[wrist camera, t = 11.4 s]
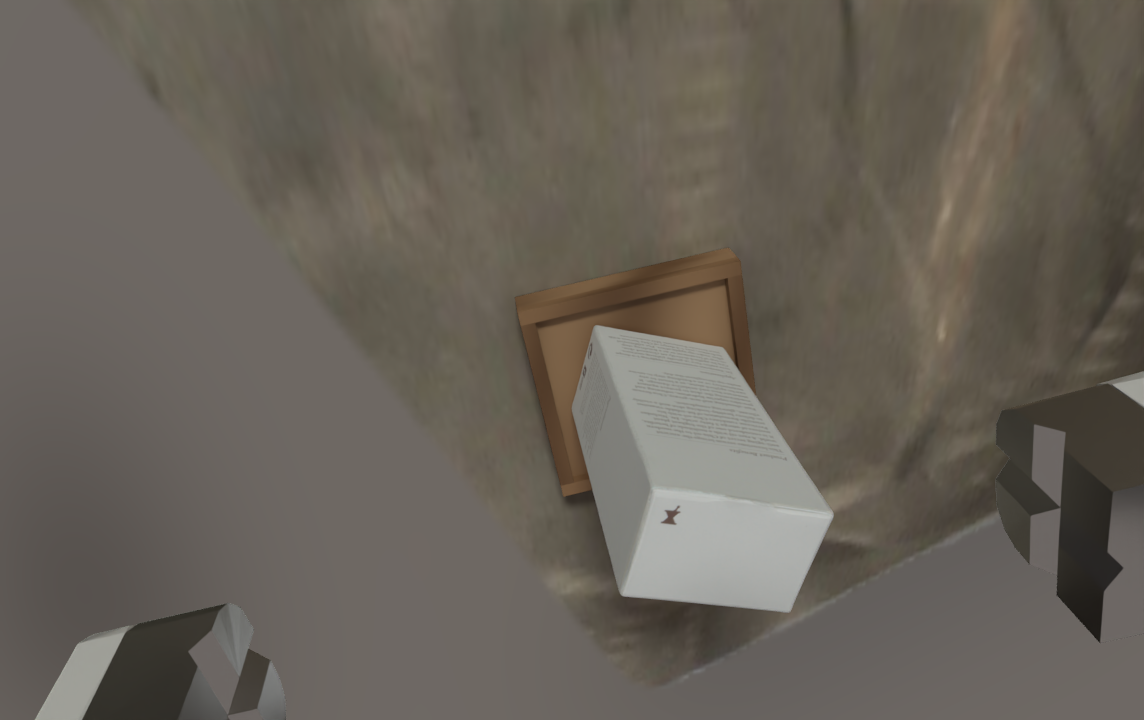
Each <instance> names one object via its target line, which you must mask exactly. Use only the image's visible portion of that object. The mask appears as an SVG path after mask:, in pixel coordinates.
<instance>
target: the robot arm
mask: <svg viewBox="0 0 1144 720" xmlns="http://www.w3.org/2000/svg"><path fill="white" fill-rule="evenodd" d="M996 445H997V446H998V447H999V448H1000V449H1001V450H1002V451H1003V452H1004V453H1005V454H1006V455H1007V456H1008V457H1009V458H1010V459H1009V460H1008V462H1007V463H1006V465H1005V466H1004V467H1003V469H1002V470H1001V472H1000V473H999V475H998V476H997V478H996V504H997V508H998V511H999V514H1000V517H1001V520H1002V524H1003V527H1004V530H1005V532H1006V533H1007V535H1008V536H1009V538H1010V540H1011V542H1012V543H1013V545H1014V547H1015V548H1016V549H1017V551H1018V552H1019V553H1020V554H1021V555H1022V556H1023V558H1024V559H1025V560H1026V561H1027V562H1028V563H1029V564H1030V565H1032V566H1034V567H1037V568H1039V569H1042V570H1044V571H1047V572H1049V573H1052V574H1054V575H1057V596H1058V597H1059V598H1060V599H1061V601H1062V602H1063V603H1064V604H1065V605H1066V606H1067V607H1068V608H1069V609H1070V610H1071V612H1072V613H1073V614H1074V615H1075V616H1076V617H1077V618H1078V619H1079V621H1080V622H1081V623H1082V624H1083V625H1084V626H1085V627H1086V628H1087V629H1088V630H1089V631H1090V633H1091V634H1092V635H1093V636H1094V637H1095V638H1096V639H1097V640H1098V642H1099V643H1104V642H1108V641H1113V640H1117V639H1122V638H1127V637H1131V636H1136V635H1140V634H1144V371H1143V372H1139V373H1135V374H1132V375H1128V376H1125V377H1121V378H1117V379H1114V380H1110V381H1107V382H1103V383H1100V384H1097V385H1096V386H1095V387H1091V388H1087V389H1083V390H1079V391H1075V392H1071V393H1068V394H1064V395H1060V396H1056V397H1052V398H1048V399H1044V400H1040V401H1036V402H1032V403H1028V404H1024V405H1020V406H1016V407H1013V408H1009V409H1005V410H1002V411H1001V413H1000V416H999V418H998V421H997V423H996ZM253 631H254V629H253V627H252V626H251V624H250V623H249V621H248V619H247V618H246V616H245V614H244V612H243V611H242V609H241V608H240V607H239V606H236V605H233V604H230V603H226V604H222V605H217V606H213V607H209V608H204V609H200V610H195V611H191V612H187V613H182V614H178V615H173V616H169V617H165V618H160V619H156V620H151V621H147V622H142V623H138V624H137V625H134V626H127V627H123V628H118V629H114V630H110V631H106V632H102V633H98V634H94V635H91V636H89V637H88V638H86V639H85V640H83V641H81V642H80V643H78V644H77V646H76V648H75V650H74V651H73V653H72V655H71V657H70V659H69V660H68V662H67V664H66V666H65V667H64V669H63V671H62V673H61V675H60V676H59V678H58V680H57V682H56V683H55V685H54V687H53V689H52V690H51V692H50V694H49V696H48V698H47V699H46V701H45V703H44V705H43V706H42V708H41V710H40V712H39V714H38V715H37V717H36V719H35V720H286V707H285V696H284V692H283V689H282V685H281V682H280V678H279V676H278V674H277V672H276V670H275V668H274V666H273V664H272V662H271V660H269V659H267V658H265V657H263V656H261V655H259V654H258V653H255V652H254V651H252V650H250V649H248V647H249V644H250V641H251V638H252V634H253Z"/></svg>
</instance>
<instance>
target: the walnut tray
mask: <svg viewBox="0 0 1144 720" xmlns="http://www.w3.org/2000/svg"><path fill="white" fill-rule="evenodd" d="M515 300H516V307H517V313H518V317H519V321H520V325H521V329H522V333H523V337H524V341H525V345H526V349H527V353H528V357H529V361H530V365H531V369H532V373H533V377H534V381H535V385H536V389H537V393H538V397H539V401H540V405H541V409H542V413H543V417H544V421H545V425H546V429H547V433H548V437H549V441H550V445H551V449H552V453H553V457H554V461H555V465H556V469H557V473H558V477H559V481H560V485H561V489H562V493H563V497H564V496H568V495H573V494H577V493H581V492H585V491H590V490H592V486H591V482H590V478H589V475H588V471H587V467H586V463H585V460H584V456H583V452H582V448H581V444H580V440H579V437H578V432H577V429H576V425H575V421H574V417H573V413H572V404H573V401H574V397H575V394H576V390H577V386H578V383H579V379H580V376H581V372H582V368H583V364H584V360H585V357H586V353H587V349H588V346H589V342H590V339H591V335H592V331H593V328H594V326H595V325H600V326H604V327H610V328H615V329H621V330H627V331H632V332H638V333H644V334H650V335H655V336H661V337H667V338H672V339H678V340H684V341H690V342H695V343H701V344H706V345H712V346H719V347H723V348H724V349H725V350H726V352H727V353H728V355H729V356H730V358H731V359H732V361H733V362H734V364H735V365H736V367H737V368H738V370H739V371H740V373H741V374H742V376H743V377H744V379H745V380H746V382H747V384H748V385H749V387H750V388H751V390H752V391H753V393H754V394H755V396H756V391H755V382H754V373H753V365H752V356H751V348H750V339H749V330H748V322H747V313H746V305H745V296H744V287H743V279H742V270H741V261H740V260H739V259H738V258H737V256H736V255H735V254H734V253H733V252H732V251H731V250H730V249H729V248H724V249H720V250H716V251H712V252H707V253H703V254H699V255H694V256H690V257H686V258H681V259H677V260H673V261H668V262H664V263H660V264H656V265H651V266H647V267H643V268H638V269H634V270H630V271H625V272H621V273H617V274H612V275H608V276H604V277H600V278H595V279H591V280H587V281H582V282H578V283H574V284H569V285H565V286H561V287H556V288H552V289H548V290H544V291H539V292H535V293H531V294H526V295H522V296H518V297H515Z"/></svg>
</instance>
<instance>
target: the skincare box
mask: <svg viewBox="0 0 1144 720" xmlns="http://www.w3.org/2000/svg"><path fill="white" fill-rule="evenodd" d="M572 413H573V417H574V421H575V425H576V429H577V432H578V437H579V440H580V444H581V448H582V452H583V456H584V460H585V463H586V467H587V471H588V475H589V478H590V482H591V486H592V490H593V494H594V498H595V501H596V505H597V509H598V513H599V517H600V521H601V524H602V528H603V532H604V536H605V540H606V544H607V548H608V551H609V555H610V558H611V563H612V567H613V571H614V574H615V578H616V582H617V586H618V589H619V592H620V594H621V595H622V596H624V597H635V598H647V599H657V600H666V601H678V602H687V603H697V604H708V605H718V606H729V607H739V608H749V609H759V610H769V611H778V612H785V613H788V612H790V611H791V609H792V606H793V604H794V602H795V599H796V597H797V595H798V592H799V590H800V588H801V586H802V583H803V581H804V579H805V577H806V574H807V572H808V570H809V568H810V566H811V564H812V562H813V560H814V557H815V555H816V553H817V551H818V549H819V547H820V544H821V542H822V540H823V538H824V536H825V534H826V532H827V529H828V527H829V526H830V524H831V522H832V520H833V517H834V513H833V511H832V510H831V508H830V507H829V505H828V504H827V502H826V501H825V499H824V498H823V497H822V495H821V494H820V492H819V490H818V489H817V487H816V486H815V485H814V483H813V482H812V480H811V479H810V477H809V476H808V474H807V473H806V471H805V470H804V468H803V467H802V465H801V464H800V462H799V461H798V459H797V458H796V456H795V455H794V453H793V452H792V450H791V449H790V447H789V446H788V444H787V443H786V441H785V440H784V438H783V437H782V435H781V433H780V432H779V430H778V429H777V427H776V426H775V424H774V423H773V421H772V420H771V418H770V417H769V415H768V414H767V412H766V411H765V409H764V408H763V406H762V405H761V403H760V402H759V400H758V399H757V397H756V396H755V394H754V393H753V391H752V390H751V388H750V387H749V385H748V384H747V382H746V380H745V379H744V377H743V376H742V374H741V373H740V371H739V370H738V368H737V367H736V365H735V364H734V362H733V361H732V359H731V358H730V356H729V355H728V353H727V352H726V350H725V349H724V348H723V347H719V346H712V345H706V344H701V343H695V342H690V341H684V340H678V339H672V338H667V337H661V336H655V335H650V334H644V333H638V332H632V331H627V330H621V329H615V328H610V327H604V326H600V325H595V326H594V328H593V331H592V335H591V339H590V342H589V346H588V349H587V353H586V357H585V360H584V364H583V368H582V372H581V376H580V379H579V383H578V386H577V390H576V394H575V397H574V401H573V404H572Z"/></svg>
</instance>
